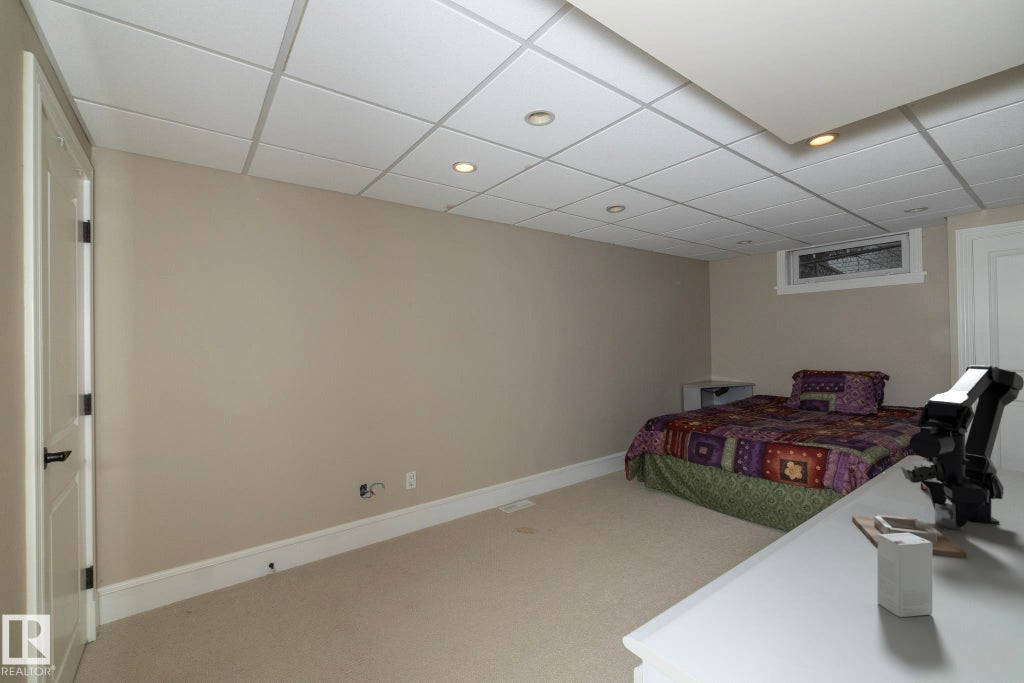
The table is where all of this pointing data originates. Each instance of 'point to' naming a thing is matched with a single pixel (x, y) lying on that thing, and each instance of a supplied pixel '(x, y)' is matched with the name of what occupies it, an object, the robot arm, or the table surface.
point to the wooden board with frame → (907, 525)
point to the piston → (945, 517)
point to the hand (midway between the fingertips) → (948, 518)
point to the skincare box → (905, 574)
